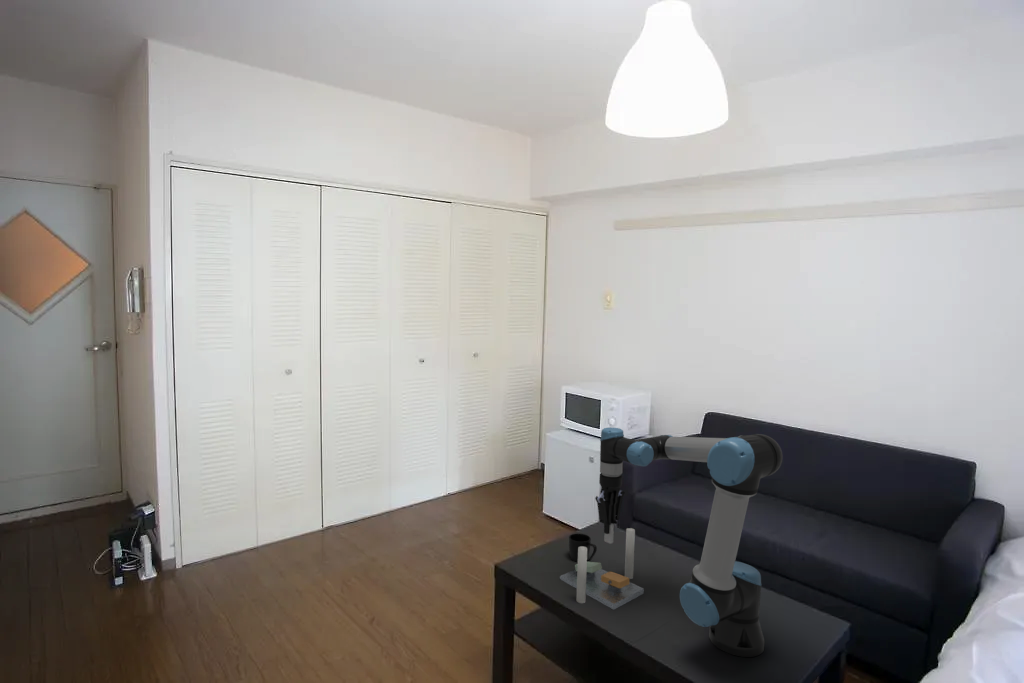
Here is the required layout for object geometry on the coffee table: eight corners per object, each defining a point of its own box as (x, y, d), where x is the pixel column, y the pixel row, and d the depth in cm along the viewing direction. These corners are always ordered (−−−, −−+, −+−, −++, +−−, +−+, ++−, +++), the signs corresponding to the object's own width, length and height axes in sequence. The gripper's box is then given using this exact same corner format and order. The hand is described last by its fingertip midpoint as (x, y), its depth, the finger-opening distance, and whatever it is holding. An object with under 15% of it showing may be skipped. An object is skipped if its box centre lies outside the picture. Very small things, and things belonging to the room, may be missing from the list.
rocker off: (630, 583, 190) (630, 577, 190) (619, 589, 186) (618, 582, 186) (611, 576, 196) (611, 570, 196) (600, 581, 192) (600, 575, 192)
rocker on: (602, 568, 199) (601, 562, 199) (591, 573, 195) (590, 567, 195) (586, 566, 205) (585, 560, 205) (574, 571, 201) (573, 565, 201)
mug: (587, 572, 207) (587, 547, 206) (563, 560, 216) (564, 536, 215) (601, 566, 212) (602, 541, 211) (578, 555, 221) (579, 531, 221)
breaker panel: (643, 594, 192) (643, 584, 192) (613, 609, 181) (614, 598, 181) (589, 568, 210) (590, 559, 210) (559, 581, 199) (560, 571, 199)
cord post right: (634, 579, 202) (636, 530, 201) (629, 581, 200) (631, 532, 199) (627, 576, 205) (629, 527, 204) (622, 578, 203) (624, 529, 202)
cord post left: (587, 602, 186) (589, 548, 185) (581, 605, 184) (583, 550, 183) (580, 598, 188) (582, 545, 187) (574, 601, 186) (576, 547, 185)
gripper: (614, 468, 198) (612, 534, 200) (589, 474, 190) (587, 543, 191) (631, 473, 193) (629, 540, 194) (607, 479, 184) (605, 550, 185)
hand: (608, 541), depth 193 cm, fingers closed
